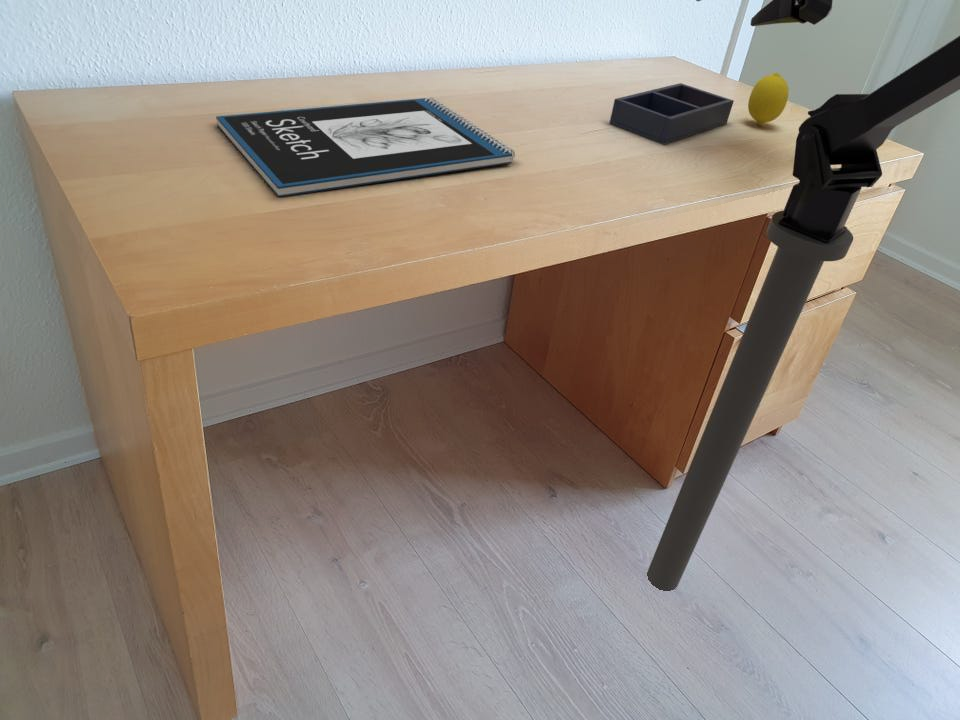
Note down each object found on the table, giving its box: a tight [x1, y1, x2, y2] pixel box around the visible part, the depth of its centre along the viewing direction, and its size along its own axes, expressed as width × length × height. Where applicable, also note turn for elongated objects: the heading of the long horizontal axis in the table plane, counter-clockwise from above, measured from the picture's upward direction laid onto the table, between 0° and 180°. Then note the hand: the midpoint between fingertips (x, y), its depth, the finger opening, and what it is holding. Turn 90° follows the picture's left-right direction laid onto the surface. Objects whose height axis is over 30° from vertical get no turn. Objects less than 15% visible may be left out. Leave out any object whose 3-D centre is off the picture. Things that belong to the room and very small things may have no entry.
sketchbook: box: [215, 96, 516, 198], centre depth 87 cm, size 22×30×2 cm
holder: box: [609, 82, 735, 145], centre depth 107 cm, size 10×18×4 cm, turn 136°
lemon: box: [747, 72, 790, 126], centre depth 111 cm, size 6×6×8 cm
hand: (724, 10), depth 98 cm, fingers open, 9 cm apart
